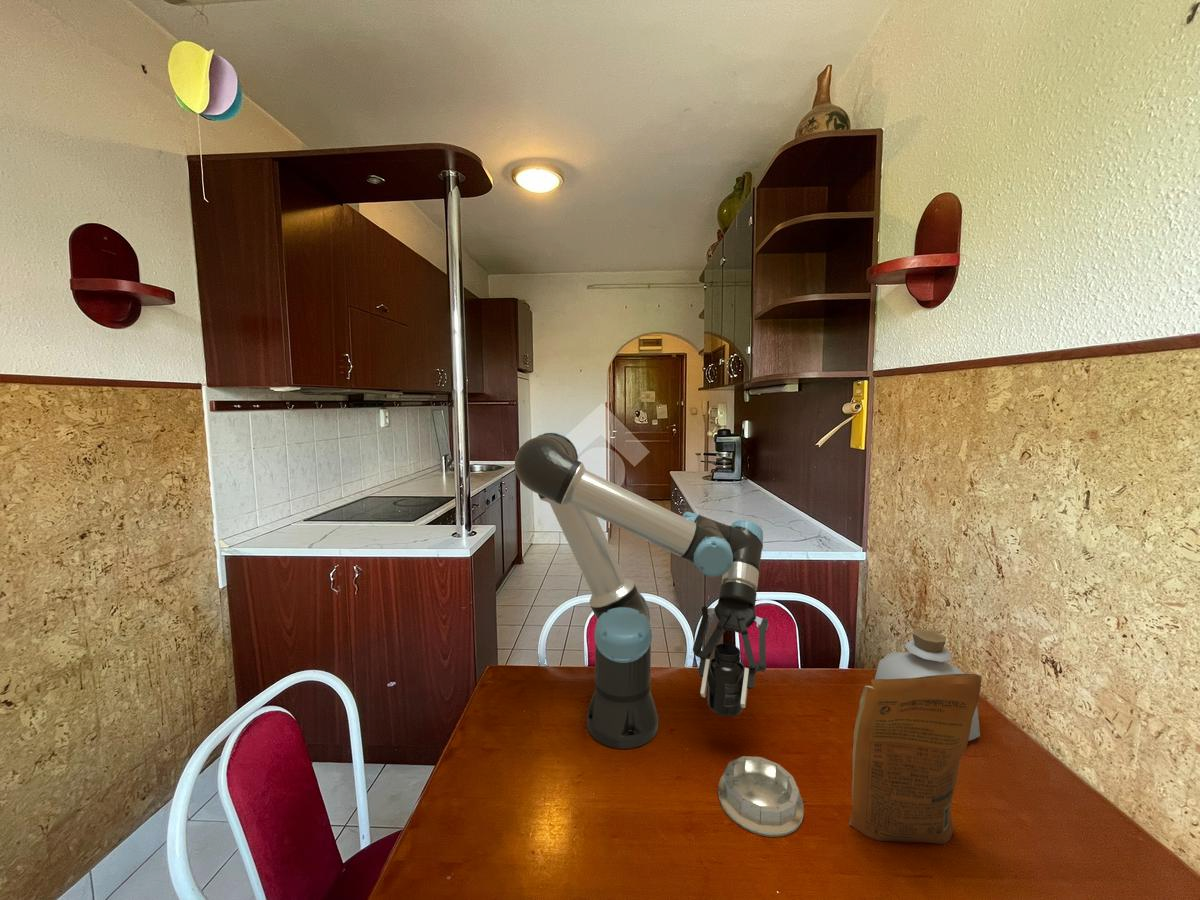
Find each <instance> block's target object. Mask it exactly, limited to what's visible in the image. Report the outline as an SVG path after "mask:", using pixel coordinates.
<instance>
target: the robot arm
mask: <svg viewBox="0 0 1200 900" xmlns="http://www.w3.org/2000/svg"><path fill="white" fill-rule="evenodd" d="M578 455H579V454H578V451H577V448H576V446H575V445H574V443H573V442H572V441H571V440H570V439H569V438H568V437H566V436H565V435H564V434H561V433H557V432H545V433H543V434H539V435H537V436H536V437H533V438H531V439H528V440H527V441H525V442H524V443H523V444H522V445H521V446H520V448H518V451H517V452H516V455H515V457H514V470H515V474H516V476H517V478H518V480H519V481H520V483H522V485H523V486H525V487H526V488H527V489H529V490H530V491H532V492H533V493H536V494H537V495H538V498H539V500H540V501H543V502H545V503H548V504H549V506H550V507H551V509H552V512H553V514H554V516H555V517H556V521H557V522H558V524H559V527H560V529H561V531H562V533H563V535H564V537H565V540H566V541H567V543H568V546H569V548H570V550H571V552H572V554H573V556H574V559H575V561H576V562H577V565H578V567H579V569H580V572H581V573H582V575H583V577H584V579H585V582H586V584H587V586H588V588H589V591H590V592H591V596H590V599H589V605H590V608H591V611H592V612H593V614H594V617H595V619H596V622H595V628H594V633H593V635H594V637H593V640H594V643H595V644H594V645H595V650H594V654H595V655H594V658H595V660H594V661H595V663H594V664H595V666H594V667H595V668H594V670H595V671H594V673H595V675H594V676H595V677H594V683H595V684H594V691H593V694H592V697H591V700H590V703H589V706H588V708H587V713H586V727H587V731H588V733H589V734H590V735H591V737H592V738H593V739H595V741H597V742H598V743H600V744H602V745H603V746H607V747H610V748H615V749H623V750H625V749H627V750H629V749H634V748H638V747H640V746H641V747H642V746H644V745H645V744H647V743H649V742H650V741H651V740H653V739H654V738H655V736H656V735H657V732H658V728H659V714H658V711H657V709H656V705H655V701H654V698H653V695H652V691H651V663H652V661H651V657H652V655H651V654H652V653H651V652H652V649H651V648H652V647H651V646H652V637H653V632H652V628H651V627H652V626H651V622H650V621H651V614H650V608H649V605H648V603H647V600H646V598H645V597H644V596H643V595H642V593H640V592H639V591H638V588H637V587H636V584H635V582H634V581H633V580H632V579H629V578H627V577H625V575H624V573H623V570H622V569H621V567H620V565H619V562H618V560H617V558H616V556H615V554H614V552H613V551H614V550H612V547H611V546H610V543H609V541H608V539H607V536H606V534H605V533H604V530H603V527H602V526H601V523H600V522H599V519H598V518H600V519H602V520H603V521H606V522H608V523H610V524H612V525H614V526H615V527H618V528H619V529H623V530H624V531H626V532H628V533H631V534H632V535H635V536H636V537H638V538H641V539H643V540H645V541H647V542H649V543H651V544H653V545H655V546H657V547H659V548H661V549H664V550H666V551H668V552H670V553H671V554H674V555H676V556H677V557H680V558H682V559H684V560H686V561H687V562H689V563H691V564H694V565H695V567H696V568H697V569H698V570H699V571H700V573H701V574H702V575H705V576H707V577H710V578H711V577H712V578H715V577H716V578H718V577H721V576H722V578H721V585H720V588H719V589H720V591H719V595H718V601H717V604H716V605H715V606H714V607H708V606H706V605H705V606H702V607H701V616H702V617H701V620H700V623H699V626H698V630H697V633H696V636H695V640H694V643H693V646H692V652H693V654H694V656H695V657H698V658H699V659H700V660H699V665H698V671H697V672H698V677H700V678H702V681H701V687H700V692H699V693H700V696H701V697H702V698H707V697H706V696H707V693H708V681H709V664H710V661H711V659H710V657H711V656H712V654H713V651H715V647H716V646H717V645H718V643H719V642H720V640H721V638H722V636H723V635H724V634H725V633H726V631H728V632H735V633H737V634H741V638H742V642H743V647H744V650H745V651H744V652H745V657H746V659H747V663H748V667H744V669H745V671H744V679H743V687H742V695H741V703H740V704H741V707H743V709H744V708H745V709H746V705H747V698H748V697H747V696H748V690H752V691H753V689H754V688H755V680H756V674H757V673H759V672H765V671H766V670H767V656H766V655H767V650H766V649H767V648H766V647H767V646H766V645H767V644H766V643H767V642H766V637H767V635H766V634H767V631H768V629H769V626H770V625H769V619H768V618H767V617H764V618H762V617H759V616H757V614H756V612H755V609H756V601H757V590H758V585H759V577H760V576H759V575H760V566H761V560H762V551H763V549H764V532H763V529H762V527H761V526H760V525H759V524H758V523H756V522H753V521H751V520H744V519H738V520H735V521H734V522H732V524H731V525H728V524H725V523H722V522H719V521H717V520H714V519H712V518H709V517H706V516H703V515H701V514H700V513H693V512H690V511H685V512H684V513H683V514H682V515H679V514H677V513H675V512H673V511H671V510H670V509H667V508H665V507H663V506H661V505H659V504H657V503H654V502H653V501H651V500H649V499H646V498H644V497H642V496H640V495H639V494H636V493H634V492H632V491H631V490H630V491H629V490H628V489H626V488H623V487H622V486H620V485H618V484H615V483H614V482H612V481H609V480H607V479H605V478H603V477H601V476H600V475H597V474H595V473H593V472H590V470H587V469H586V468H585V466H584V463H583V462H582V461H579V456H578ZM714 615H715V616H716V618H717V619H718V623H717V625H716V627H715V629H714V631H713V632H712V634H711V636H710V638H709V639H708V641H707V642H706V644H705V646H704V647H703V645H704V641H705V637H706V635H707V632H708V627H709V624H710V620H712V618H713V617H714ZM754 623H756V628H757V629H758V646H759V647H758V662H756V661H755V658H754V653H753V650H752V645H751V641H750V640H751V639H750V636H749V633H748V629H749V628H750V627H751V626H752V625H753V624H754ZM702 648H703V649H702Z"/></svg>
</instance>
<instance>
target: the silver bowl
mask: <svg viewBox="0 0 1200 900" xmlns="http://www.w3.org/2000/svg"><path fill="white" fill-rule="evenodd" d="M717 790H718V793H717V794H718V800H719V803H720V806H721V807H722V809H723V811H724V812H725V814H726V815H727V817H729V819H731V820H732V821H733V822H734V823H735V824H737V825H738V826H740V827H741V828H742V829H745V830H746V831H749V833H753V834H756V835H759V836H764V837H771V838H780V837H784V836H788V835H790V834H792V833H794V832H796V831H797V830H798V829H799V827H801V825H802V822H803V819H804V813H805V812H804V809H805V807H804V801H803V798H802V796H801V794H800V789H799V787H798V785H797V782H796V781H795V778H794V777H793V775H792V774H791V773H790V772H788V770H786V769H785V768H784V767H783V766H781V764H779V763H776V762H774V761H771V760H769V759H767V758H765V757H761V756H747V755H746V756H745V755H743V756H739V757H737V758H736V759H733V760H731V761H729V762H728V765H727V766H726V768H725V770H724V772H723V774H722V775H721V777H720V778H719V782H718V789H717Z"/></svg>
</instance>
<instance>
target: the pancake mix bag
mask: <svg viewBox="0 0 1200 900" xmlns="http://www.w3.org/2000/svg"><path fill="white" fill-rule="evenodd" d="M982 676H983V675H980V674H978V673H966V674H945V675H933V676H925V677H917V678H900V679H875V678H873V679H871V685H864V686H863V690H862V693H861V695H860V699H859V705H858V706H859V707H858V712H857V715H856V719H855V725H854V728H853V729H854V731H853V746H852V783H851V804H852V805H851V806H852V811H851V814H850V817H849V818H850V819H849V823H848V825H849V826H851V827H852V828H854V829H855V830H857V831H858V832H860V833H861V834H863V835H864V836H866V837H867V838H869V839H870V838H871V839H873V840H876V841H879V842H897V843H898V842H902V843H927V844H937V845H946V844H947V843H948V842H950V840H951V839H952V835H953V831H954V824H953V823H954V822H953V817H952V809H951V808H952V804H953V803H952V800H953V797H954V796H953V795H954V793H955V789H956V786H957V784H958V777H959V769H960V761H961V758H962V757H963V755H964V752H965V750H966V748H967V746H968V743H969V741H968V740H969V735H970V729H971V724H972V719H973V715H974V712H975V710H976V707H977V708H978V703H979V699H980V693H981V689H982V679H983V677H982Z"/></svg>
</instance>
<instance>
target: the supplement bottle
mask: <svg viewBox="0 0 1200 900" xmlns="http://www.w3.org/2000/svg"><path fill="white" fill-rule="evenodd" d="M744 671H745V666H744V664H743V663H742V662H741V650H740V649H739V647H737V646H736V645H733V644H730V643H720V644H717V645H716V647H715V649H714V657H713V658H712V659H710V664H709V680H708V686H707V705H708V708H710V710H712V712H713V713H715V714H717V715H719V716H722V717H728V718H729V717H737V716H738V715H740V714H741V713H742V711H743V709H744V708H743V707H741V704H740V703H741V695H742V687H743V679H744Z"/></svg>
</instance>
